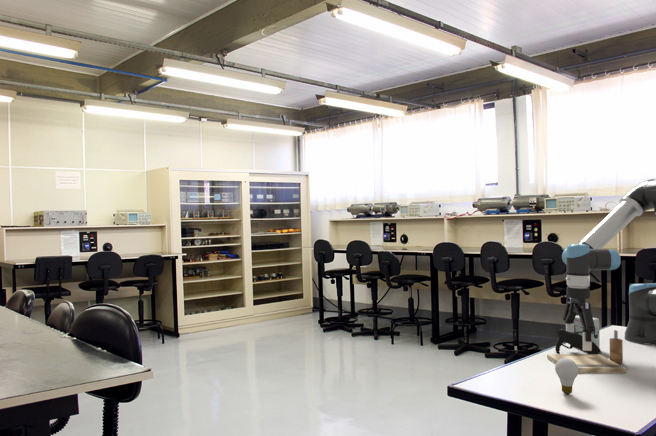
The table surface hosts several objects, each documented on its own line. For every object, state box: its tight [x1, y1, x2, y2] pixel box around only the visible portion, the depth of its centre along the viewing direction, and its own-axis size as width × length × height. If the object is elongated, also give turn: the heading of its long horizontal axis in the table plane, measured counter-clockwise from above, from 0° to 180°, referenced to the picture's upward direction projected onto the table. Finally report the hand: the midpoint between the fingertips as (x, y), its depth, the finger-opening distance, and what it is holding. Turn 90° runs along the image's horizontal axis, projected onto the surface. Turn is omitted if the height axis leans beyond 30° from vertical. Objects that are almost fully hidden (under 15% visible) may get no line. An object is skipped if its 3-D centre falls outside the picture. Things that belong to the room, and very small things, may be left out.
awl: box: [609, 329, 624, 366], centre depth 170 cm, size 4×4×11 cm
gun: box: [554, 328, 604, 356], centre depth 180 cm, size 3×16×10 cm, turn 79°
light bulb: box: [554, 358, 579, 396], centre depth 139 cm, size 6×6×10 cm
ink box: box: [571, 314, 601, 350], centre depth 190 cm, size 9×5×12 cm, turn 25°
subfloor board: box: [546, 353, 627, 374], centre depth 167 cm, size 18×17×2 cm
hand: (578, 345), depth 180 cm, fingers open, 13 cm apart
